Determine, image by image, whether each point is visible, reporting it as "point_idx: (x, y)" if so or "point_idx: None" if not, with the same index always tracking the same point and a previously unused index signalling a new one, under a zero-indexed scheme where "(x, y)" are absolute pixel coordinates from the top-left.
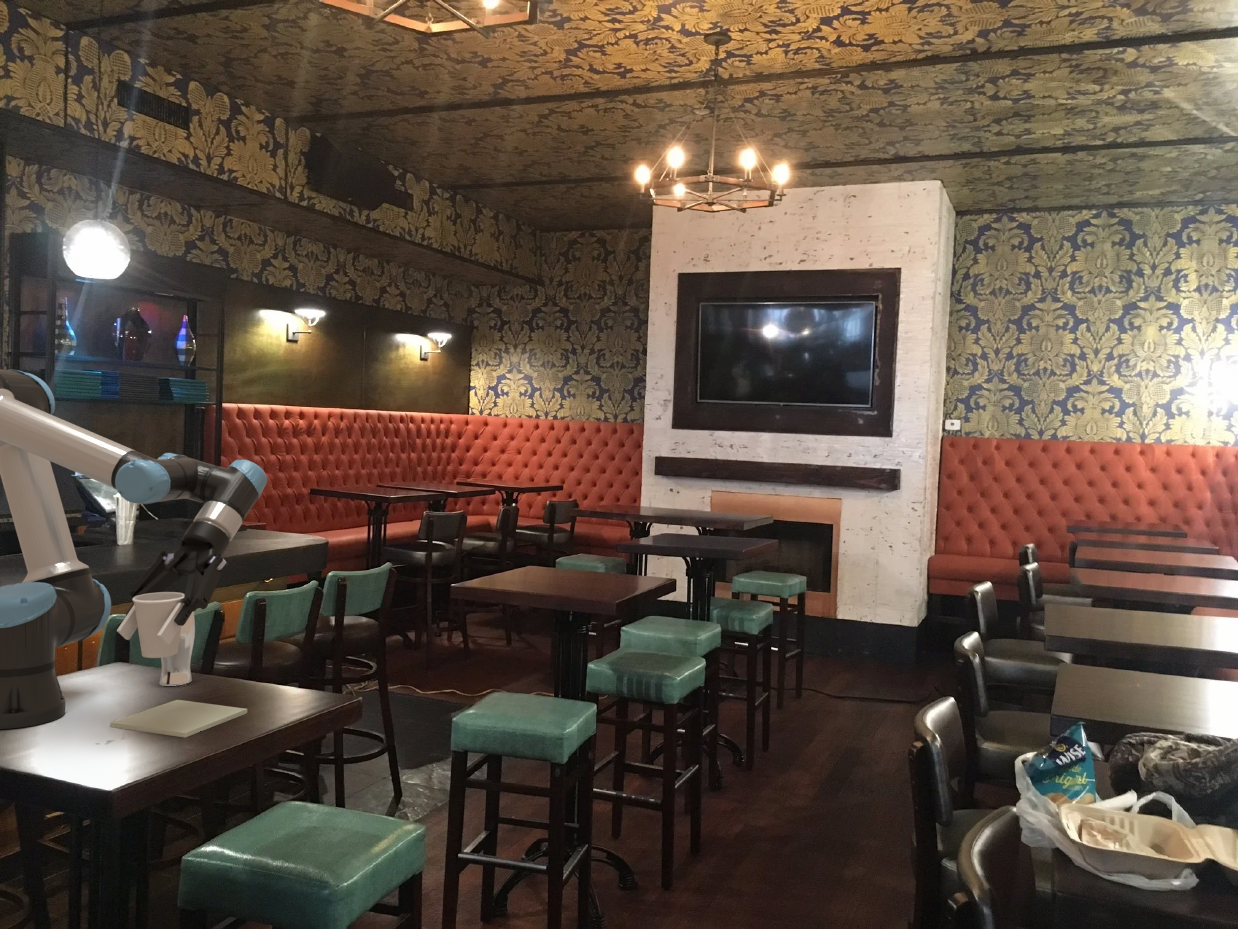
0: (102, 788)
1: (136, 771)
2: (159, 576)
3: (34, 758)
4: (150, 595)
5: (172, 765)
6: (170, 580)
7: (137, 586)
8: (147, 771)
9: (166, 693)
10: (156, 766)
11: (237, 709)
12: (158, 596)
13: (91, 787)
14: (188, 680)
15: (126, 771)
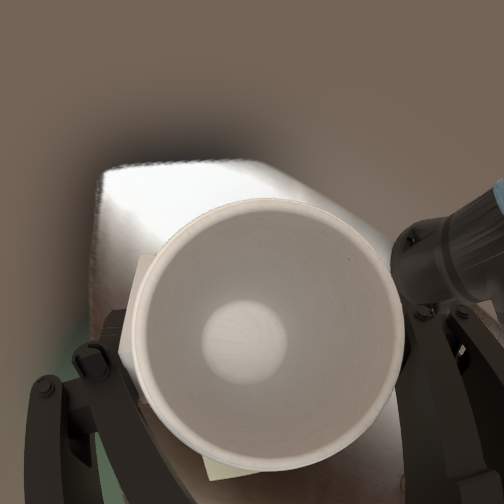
0: (115, 170)
1: (121, 218)
2: (463, 425)
3: (270, 189)
4: (388, 353)
5: (99, 255)
6: (416, 480)
7: (478, 334)
8: (110, 225)
9: (394, 454)
10: (113, 242)
11: (219, 472)
12: (370, 390)
13: (127, 166)
14: (403, 489)
15: (131, 212)
